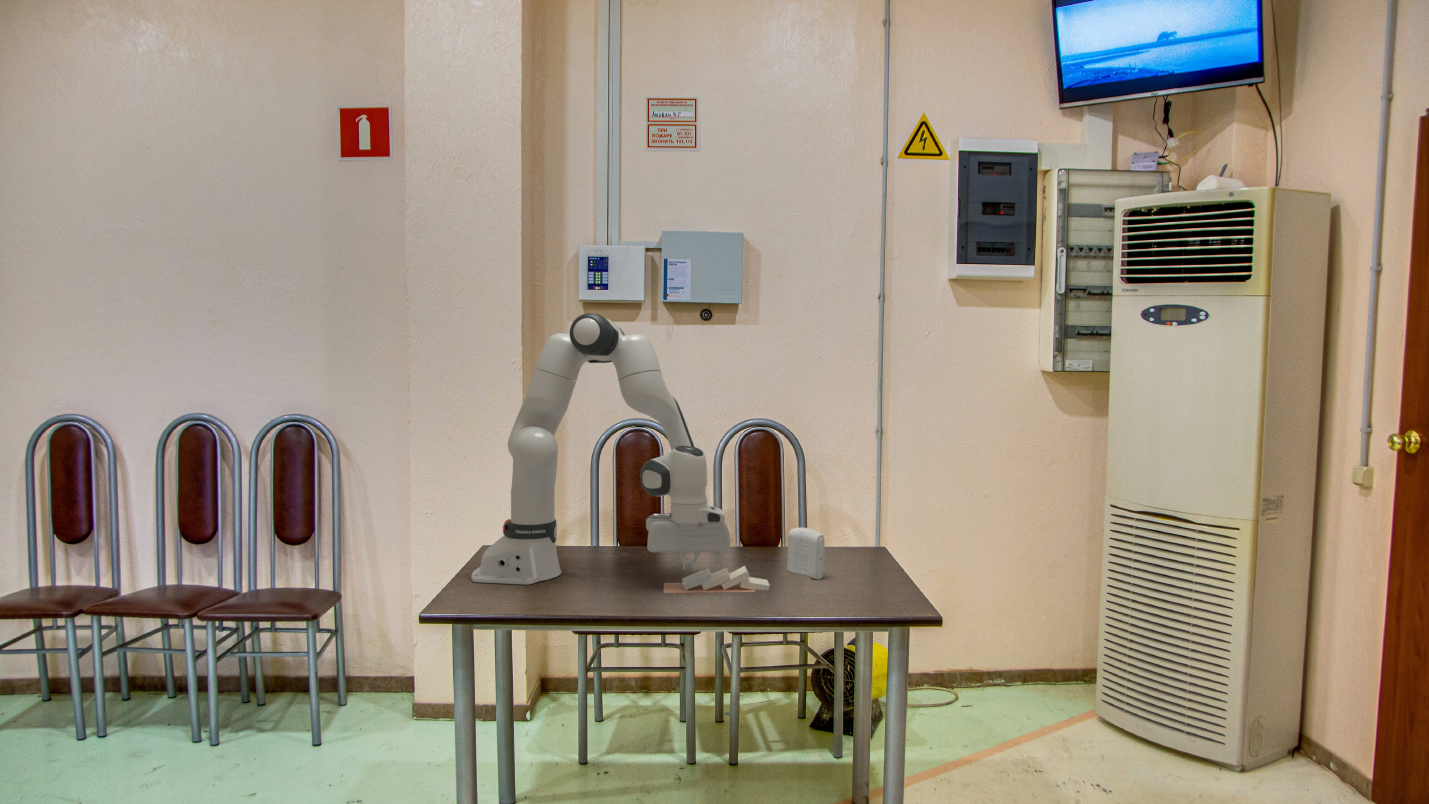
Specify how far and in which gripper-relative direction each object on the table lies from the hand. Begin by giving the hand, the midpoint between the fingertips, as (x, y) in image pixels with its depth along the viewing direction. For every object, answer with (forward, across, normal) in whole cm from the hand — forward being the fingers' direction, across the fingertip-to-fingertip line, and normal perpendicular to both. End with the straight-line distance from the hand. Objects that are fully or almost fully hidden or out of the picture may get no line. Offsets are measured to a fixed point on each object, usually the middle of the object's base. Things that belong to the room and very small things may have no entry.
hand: (688, 569), depth 191 cm
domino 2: (+4, +3, 0) cm, 5 cm away
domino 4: (+3, +13, 0) cm, 13 cm away
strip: (+5, +5, 0) cm, 7 cm away
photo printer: (+5, +31, +12) cm, 34 cm away
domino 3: (+4, +8, 0) cm, 9 cm away
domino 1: (+4, -1, 0) cm, 4 cm away
